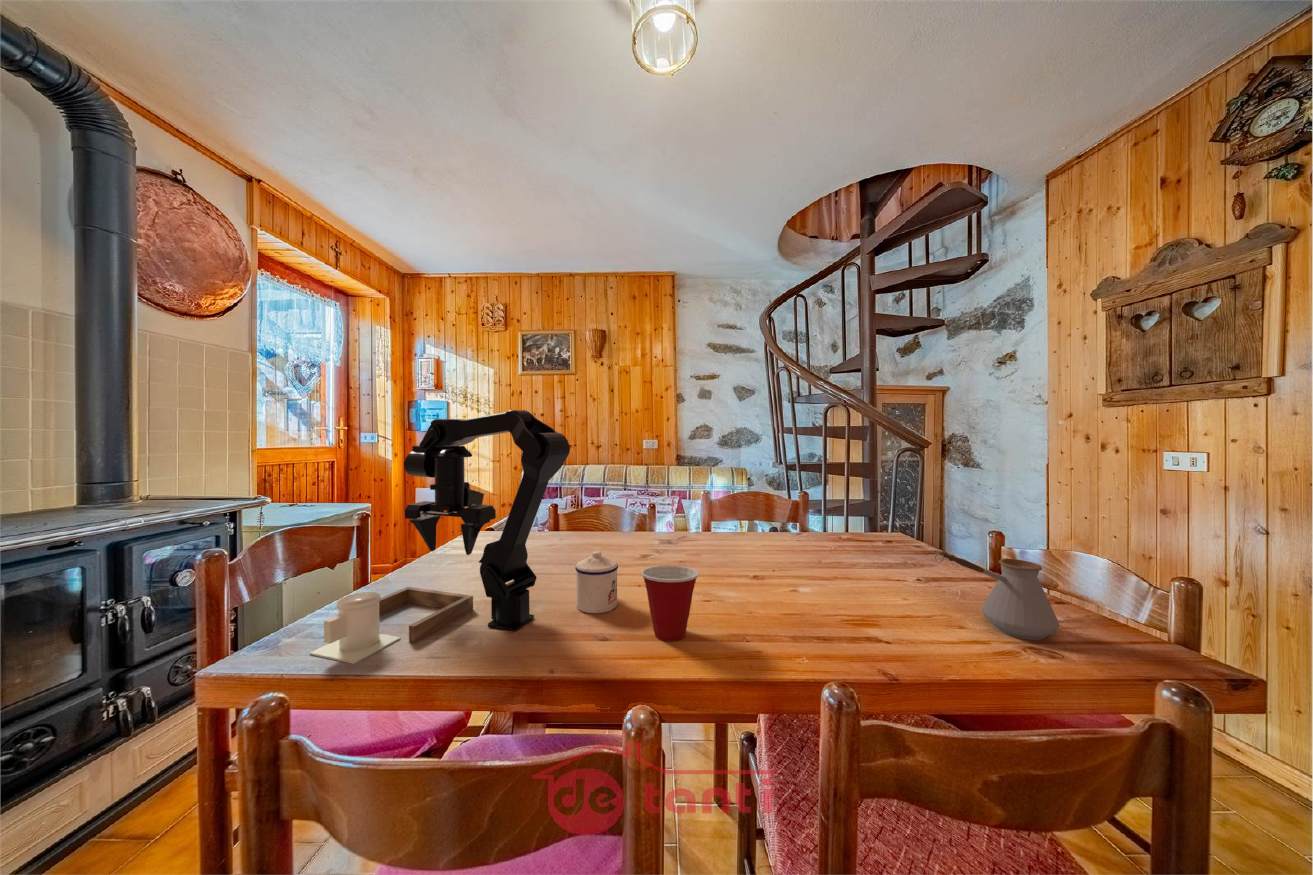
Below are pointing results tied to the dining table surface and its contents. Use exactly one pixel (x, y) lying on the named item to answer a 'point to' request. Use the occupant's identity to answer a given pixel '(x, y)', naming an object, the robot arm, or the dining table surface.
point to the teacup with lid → (596, 584)
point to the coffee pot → (1016, 599)
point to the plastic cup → (669, 599)
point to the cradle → (449, 603)
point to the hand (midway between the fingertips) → (450, 552)
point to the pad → (355, 656)
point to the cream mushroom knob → (355, 622)
